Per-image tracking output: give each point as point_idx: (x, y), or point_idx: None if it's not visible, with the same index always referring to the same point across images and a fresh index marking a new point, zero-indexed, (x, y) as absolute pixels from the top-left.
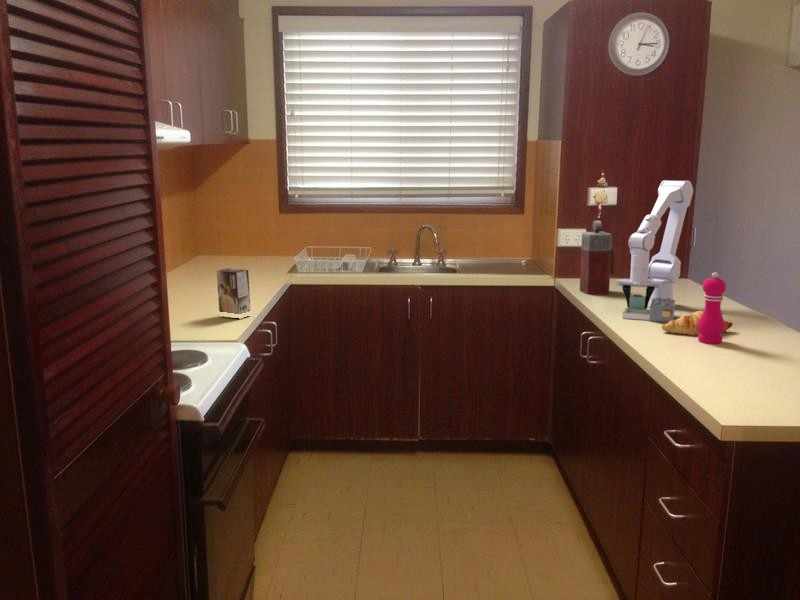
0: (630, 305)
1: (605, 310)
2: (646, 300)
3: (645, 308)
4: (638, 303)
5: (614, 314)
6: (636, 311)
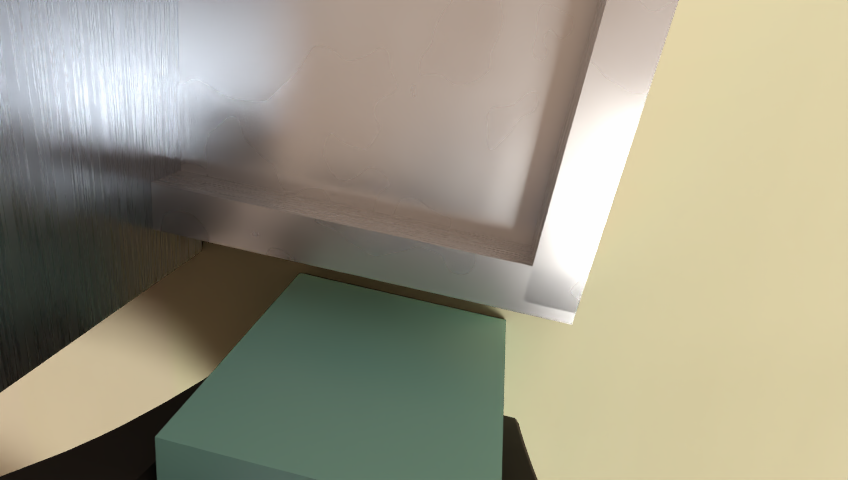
0: (480, 382)
1: (833, 432)
2: None
3: None
4: (336, 378)
5: (770, 170)
6: (399, 222)
